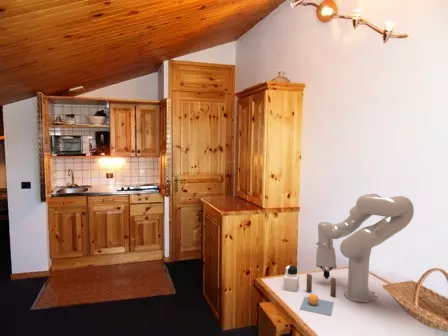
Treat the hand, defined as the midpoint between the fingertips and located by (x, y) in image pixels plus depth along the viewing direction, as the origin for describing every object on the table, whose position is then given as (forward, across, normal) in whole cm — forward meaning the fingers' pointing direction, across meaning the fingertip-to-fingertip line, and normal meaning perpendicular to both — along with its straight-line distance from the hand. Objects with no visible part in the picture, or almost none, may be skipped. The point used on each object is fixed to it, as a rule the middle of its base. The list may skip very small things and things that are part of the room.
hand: (326, 278), depth 177 cm
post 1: (+4, -8, -12) cm, 15 cm away
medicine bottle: (+4, -17, -12) cm, 21 cm away
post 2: (+5, +4, -12) cm, 14 cm away
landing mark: (+5, -2, -26) cm, 27 cm away
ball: (+2, -4, -26) cm, 26 cm away
